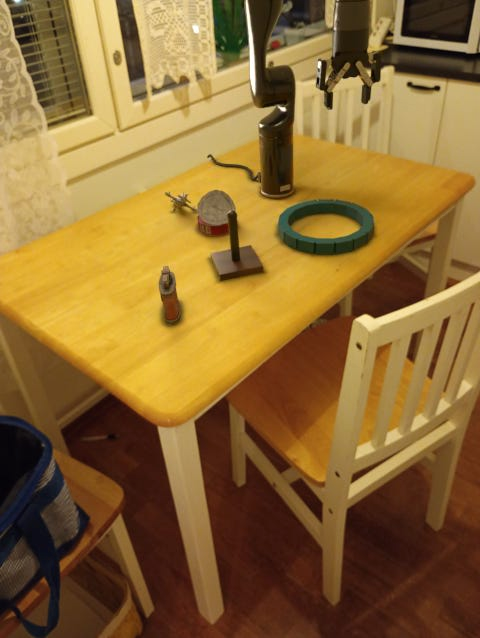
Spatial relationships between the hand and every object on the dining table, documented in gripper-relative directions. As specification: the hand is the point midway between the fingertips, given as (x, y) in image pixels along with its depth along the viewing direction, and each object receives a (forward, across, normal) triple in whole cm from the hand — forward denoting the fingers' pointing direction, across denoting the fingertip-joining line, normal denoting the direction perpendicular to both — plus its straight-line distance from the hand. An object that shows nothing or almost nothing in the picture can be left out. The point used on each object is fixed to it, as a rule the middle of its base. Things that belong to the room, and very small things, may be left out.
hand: (346, 106), depth 118 cm
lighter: (+28, +48, +25) cm, 61 cm away
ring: (+28, +6, +4) cm, 29 cm away
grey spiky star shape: (+28, +39, -21) cm, 53 cm away
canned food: (+28, +31, -8) cm, 43 cm away
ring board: (+28, +31, +12) cm, 44 cm away
